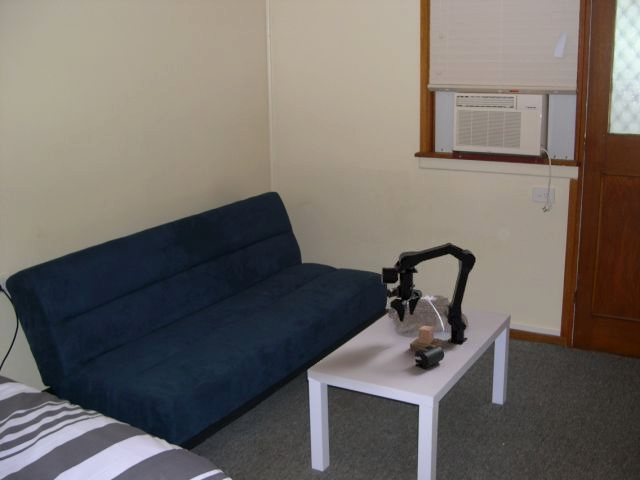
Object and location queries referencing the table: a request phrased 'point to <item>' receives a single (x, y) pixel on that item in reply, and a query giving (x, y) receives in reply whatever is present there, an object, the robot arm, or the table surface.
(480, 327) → the table surface
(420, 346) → the tan block
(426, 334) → the terracotta block
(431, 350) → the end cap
